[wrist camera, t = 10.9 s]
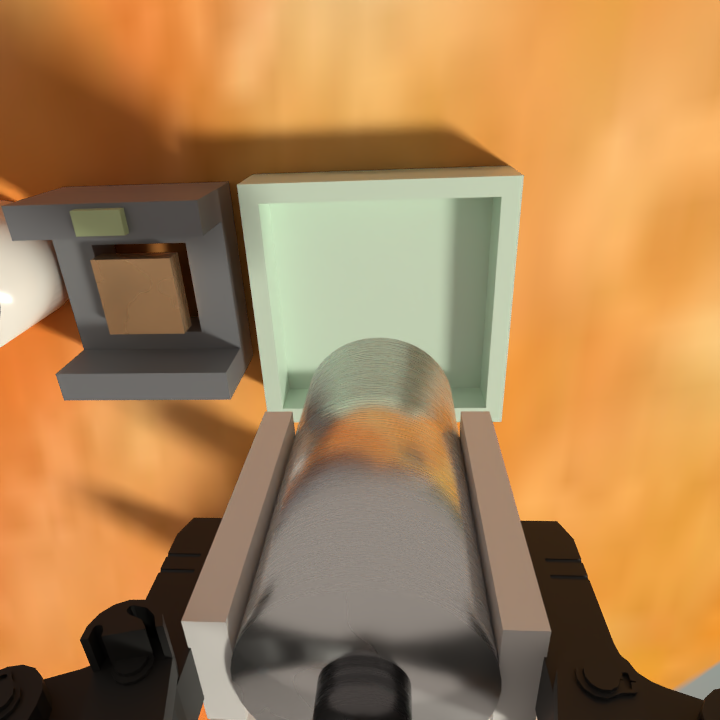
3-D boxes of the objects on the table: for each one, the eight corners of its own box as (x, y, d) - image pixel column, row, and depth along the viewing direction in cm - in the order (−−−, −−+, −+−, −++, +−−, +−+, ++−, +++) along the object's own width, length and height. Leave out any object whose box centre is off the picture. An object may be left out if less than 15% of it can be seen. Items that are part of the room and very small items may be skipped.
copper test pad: (119, 326, 27) (110, 334, 26) (101, 253, 25) (90, 259, 24) (191, 325, 26) (184, 333, 26) (177, 252, 25) (169, 258, 24)
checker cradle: (109, 357, 30) (59, 404, 25) (63, 186, 26) (-6, 208, 21) (253, 355, 29) (228, 404, 25) (228, 181, 25) (193, 202, 21)
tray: (279, 392, 30) (268, 422, 28) (253, 174, 25) (236, 184, 22) (491, 391, 30) (501, 421, 27) (509, 165, 24) (523, 175, 22)
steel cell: (313, 460, 19) (237, 804, 10) (302, 337, 17) (193, 634, 8) (449, 461, 18) (497, 818, 10) (455, 337, 16) (525, 644, 7)
